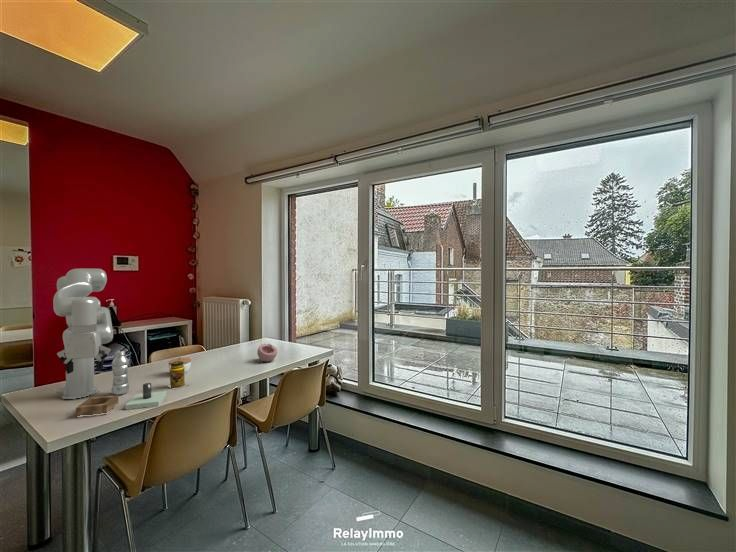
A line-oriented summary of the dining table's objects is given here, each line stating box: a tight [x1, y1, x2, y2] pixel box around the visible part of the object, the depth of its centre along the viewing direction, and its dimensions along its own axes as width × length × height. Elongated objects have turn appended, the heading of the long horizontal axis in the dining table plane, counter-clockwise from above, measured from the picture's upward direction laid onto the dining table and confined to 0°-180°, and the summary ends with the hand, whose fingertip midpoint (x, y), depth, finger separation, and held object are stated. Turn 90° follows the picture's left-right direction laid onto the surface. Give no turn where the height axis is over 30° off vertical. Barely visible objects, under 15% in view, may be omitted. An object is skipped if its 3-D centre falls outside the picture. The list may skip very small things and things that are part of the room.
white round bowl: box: [168, 356, 192, 376], centre depth 174 cm, size 11×11×9 cm
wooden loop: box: [75, 394, 119, 417], centre depth 129 cm, size 10×10×4 cm
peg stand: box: [124, 382, 168, 410], centre depth 137 cm, size 12×12×8 cm
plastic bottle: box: [111, 349, 130, 396], centre depth 146 cm, size 6×7×20 cm
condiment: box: [166, 361, 189, 391], centre depth 157 cm, size 7×8×12 cm
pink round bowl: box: [257, 343, 278, 363], centre depth 199 cm, size 12×12×12 cm
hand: (85, 371), depth 127 cm, fingers open, 9 cm apart
